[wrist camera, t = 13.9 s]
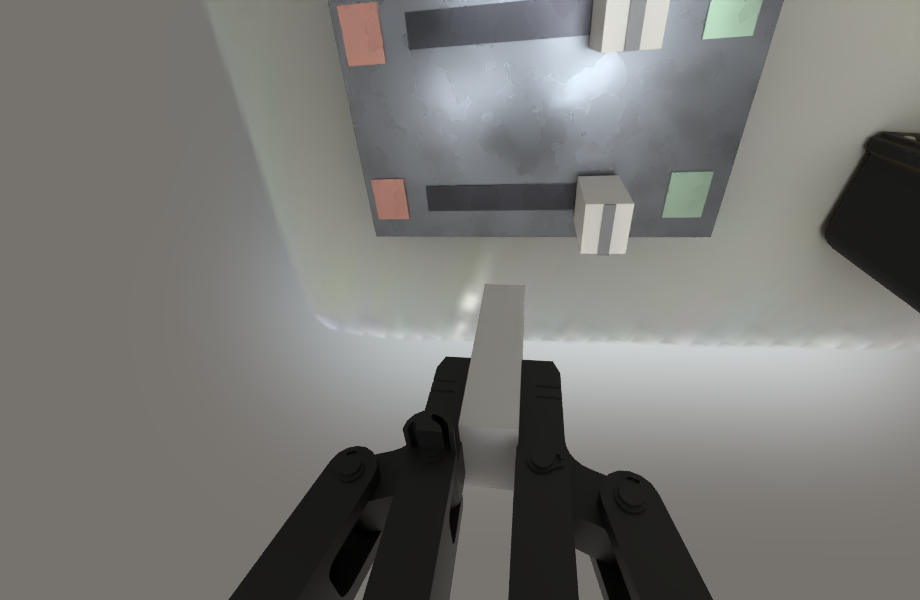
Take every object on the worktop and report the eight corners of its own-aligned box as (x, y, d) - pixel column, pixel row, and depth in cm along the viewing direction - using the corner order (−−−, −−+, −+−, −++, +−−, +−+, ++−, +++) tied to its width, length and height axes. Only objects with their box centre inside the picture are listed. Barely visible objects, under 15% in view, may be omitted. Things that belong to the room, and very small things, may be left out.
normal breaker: (595, -22, 20) (611, -36, 16) (648, -28, 20) (678, -43, 15) (589, 48, 22) (601, 53, 17) (637, 44, 21) (662, 48, 17)
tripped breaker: (577, 176, 26) (586, 205, 21) (618, 175, 25) (635, 205, 21) (573, 219, 27) (580, 255, 23) (611, 219, 27) (625, 255, 23)
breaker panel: (337, -23, 24) (320, -27, 22) (787, -76, 20) (812, -87, 18) (384, 225, 33) (375, 237, 31) (700, 225, 28) (711, 238, 27)
